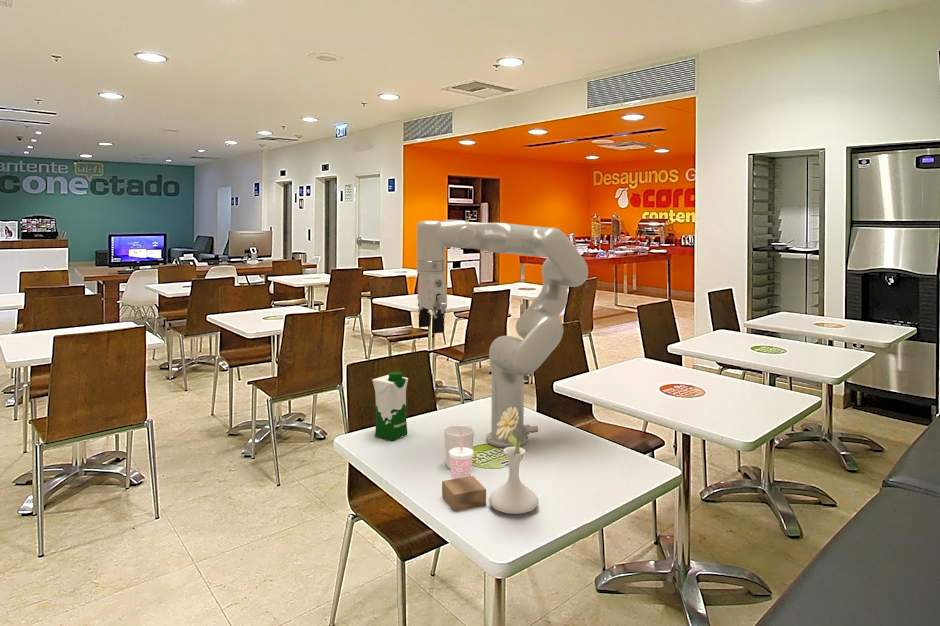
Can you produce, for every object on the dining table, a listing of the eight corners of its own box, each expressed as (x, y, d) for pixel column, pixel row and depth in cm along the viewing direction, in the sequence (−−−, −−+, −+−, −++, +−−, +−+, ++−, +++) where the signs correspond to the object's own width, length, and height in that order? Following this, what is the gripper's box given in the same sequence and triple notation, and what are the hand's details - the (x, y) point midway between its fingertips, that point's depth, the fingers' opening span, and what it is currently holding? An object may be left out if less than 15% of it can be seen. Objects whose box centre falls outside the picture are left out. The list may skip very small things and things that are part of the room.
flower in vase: (490, 495, 153) (491, 395, 149) (537, 497, 152) (540, 396, 148) (486, 521, 140) (487, 412, 136) (538, 523, 139) (541, 414, 135)
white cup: (452, 473, 165) (452, 437, 164) (439, 463, 172) (439, 428, 171) (478, 468, 169) (479, 432, 167) (465, 458, 176) (465, 423, 174)
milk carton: (392, 443, 187) (391, 377, 184) (370, 436, 192) (368, 372, 189) (411, 434, 194) (411, 371, 191) (390, 428, 199) (388, 366, 196)
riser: (473, 491, 155) (473, 475, 154) (485, 505, 148) (486, 489, 147) (442, 496, 152) (442, 480, 151) (453, 511, 145) (453, 494, 144)
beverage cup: (445, 488, 156) (445, 434, 154) (454, 479, 162) (454, 426, 160) (468, 492, 154) (468, 437, 152) (477, 482, 160) (477, 429, 158)
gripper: (457, 269, 164) (457, 334, 167) (431, 264, 179) (431, 323, 182) (430, 270, 161) (430, 336, 164) (406, 265, 176) (406, 325, 179)
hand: (431, 329), depth 173 cm, fingers open, 9 cm apart
